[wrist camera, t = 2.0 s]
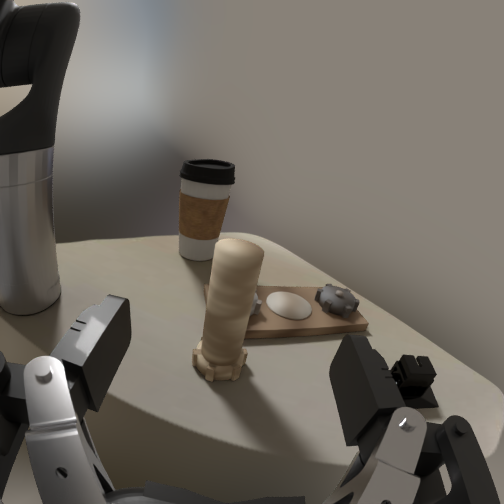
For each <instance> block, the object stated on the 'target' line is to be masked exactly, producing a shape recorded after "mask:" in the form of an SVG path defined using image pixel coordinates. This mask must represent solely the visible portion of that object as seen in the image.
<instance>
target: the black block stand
mask: <svg viewBox="0 0 504 504" xmlns="http://www.w3.org/2000/svg"><path fill="white" fill-rule="evenodd" d="M416 360H417V361H416ZM417 362H418V364H419V365H418V364H417ZM390 372H391V374H392V378H394V381H395V383H396V385H397V387H398V389H399V392H400V394H401V396H402V398H403V400H404V403H405V405H406V407H410V408H413V409H419V408H436V407H439V406H438V404H437V401H436V399H435V396H434V394H433V391H432V389H431V387H430V386H431V384H432V383H433V382H434V377H435V376H436V375H437V374H436V372H435V370H434V368H433V366H432V364H431V362H430V360H429V358H428V357H426V356H418V357H417V358H416V359H415V357H414V356H413V355H402V357H401V358H400V360H399V361H396V362H395V364H394V366H393V367H392V369H391V370H390Z"/></svg>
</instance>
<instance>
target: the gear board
mask: <svg viewBox="0 0 504 504" xmlns="http://www.w3.org/2000/svg"><path fill="white" fill-rule="evenodd" d="M208 291H209V284H204V297H205V302H206V306H207V298H208ZM358 305H359V300H358V299H355V297H354V296H353V295H352V294H351V293H350V290H348V289H347V288H346V289H343V288H340V287H337V286H332V284H326V286H325V287H280V286H257V287H256V291H255V295H254V299H253V304H252V308H251V312H250V316H249V320H248V325H247V329H246V333H245V337H244V339H251V338H279V337H297V336H312V335H325V334H336V333H346V332H356V331H365V330H366V328H367V326H368V324H369V323H368V322H367V321H366V319H365V318H364V317H363V316H362V315H361V314H360V313H359V311H358V310H357V307H358Z"/></svg>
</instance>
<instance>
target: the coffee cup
mask: <svg viewBox="0 0 504 504" xmlns="http://www.w3.org/2000/svg"><path fill="white" fill-rule="evenodd" d="M234 172H235V165H234V164H232V163H229V162H225V161H221V160H213V159H201V160H187V161H184V163H183V166H182V169H181V171H180V177H181V178H182V183H181V189H180V197H179V253H180V255H182V256H183V257H185V258H187V259H190V260H195V261H206V260H209V259H211V258H213V256H214V250H215V244H216V242H218V237H219V235H220V231H221V227H222V223H223V220H224V216H225V212H226V209H227V205H228V201H229V198H230V196H229V193H230V189H231V185H232V184H234V183H235V182H234V180H235V177H234Z"/></svg>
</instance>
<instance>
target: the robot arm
mask: <svg viewBox="0 0 504 504" xmlns="http://www.w3.org/2000/svg"><path fill="white" fill-rule="evenodd" d="M79 22H80V9H79V7H78V6H77V5H76V4H75V3H70V2H61V3H60V2H59V3H46V4H36V5H28V6H17V5H16V4H15V2H14V0H0V88H2V87H11V86H19V85H29V84H32V87H31V90H30V92H29V94H28V95H27V96H26V98H25V99H24V100H23V101H21V102H20V103H19V104H18V105H17V106H16V107H14V108H13V109H12V110H10V111H9V112H7V113H6V114H4V115H3V116H1V117H0V305H1V307H2V308H3V309H4V310H5V311H7V312H9V313H11V314H16V315H28V314H34V313H37V312H40V311H42V310H44V309H46V308H48V307H49V306H51V305H52V304H53V303H54V302H55V301H56V300H57V298H58V297H59V295H60V292H61V285H60V277H59V271H58V264H57V255H56V245H55V235H54V218H53V156H54V155H53V154H54V143H55V130H56V121H57V113H58V106H59V100H60V94H61V89H62V85H63V80H64V76H65V73H66V69H67V66H68V63H69V59H70V56H71V53H72V50H73V46H74V43H75V40H76V36H77V32H78V28H79ZM130 341H131V319H130V303H129V300H128V299H126V298H122V297H118V296H114V295H110V294H109V295H107V296H106V298H105V299H104V300H103V302H102V303H101V304H100V306H98V305H95V304H94V305H92V306H91V307H89V308H87V309H86V310H84V311H83V312H82V313H81V314H80V316H79V317H78V318H77V319H76V322H74V323H73V325H72V326H71V328H70V329H69V330H68V331H67V332H66V334H65V335H64V336H63V338H62V339H61V340H60V342H59V343H58V344H57V346H56V347H55V348H54V350H53V351H52V353H51V354H50V355H49V356H40V357H36V358H34V359H33V360H31V361H30V362H29V363H28V364H27V365H21V364H15V363H9V362H6V360H5V357H4V355H3V353H2V352H1V351H0V504H3V502H2V500H1V499H2V496H3V492H4V489H5V486H6V483H7V480H8V477H9V474H10V472H11V469H12V466H13V464H14V461H15V459H16V456H17V454H18V451H19V449H20V446H21V444H22V441H23V439H24V437H25V438H26V445H27V449H28V454H29V458H30V462H31V466H32V470H33V474H34V477H35V481H36V484H37V487H38V490H39V494H40V496H41V499H42V502H43V504H305V497H304V496H301V497H265V498H260V499H254V500H248V501H242V502H234V503H223V502H220V501H216V500H214V499H211V498H208V497H205V496H202V495H199V494H197V493H194V492H191V491H189V490H186V489H183V488H178V487H172V486H168V485H164V484H159V483H155V482H151V481H146V484H145V487H132V488H123V489H119V490H115V489H114V487H113V485H112V483H111V481H110V479H109V477H108V475H107V473H106V471H105V470H104V468H103V466H102V464H101V461H100V459H99V456H98V454H97V452H96V449H95V447H94V444H93V441H92V438H91V436H90V433H89V430H88V427H87V424H86V421H85V418H84V415H85V413H86V411H87V409H90V410H93V411H96V412H98V411H99V408H100V406H101V404H102V402H103V399H104V397H105V395H106V393H107V391H108V389H109V386H110V384H111V382H112V380H113V378H114V376H115V374H116V372H117V370H118V367H119V365H120V363H121V361H122V359H123V357H124V355H125V353H126V351H127V349H128V347H129V344H130ZM388 369H389V368H388V366H387V364H386V362H385V360H384V358H383V357H382V356H381V355H380V354H379V353H378V352H377V351H376V350H375V349H372V347H371V345H370V343H369V341H368V339H367V337H366V336H360V335H345V336H344V338H343V340H342V342H341V344H340V346H339V348H338V350H337V353H336V355H335V357H334V359H333V361H332V363H331V366H330V371H329V376H330V381H331V385H332V389H333V393H334V397H335V400H336V404H337V408H338V412H339V417H340V421H341V425H342V429H343V433H344V437H345V442H346V446H357V445H358V447H359V451H358V452H357V453H356V455H355V457H354V458H353V460H352V462H351V464H350V465H349V467H348V469H347V470H346V472H345V474H344V475H343V477H342V479H341V480H340V482H339V483H338V485H337V487H336V488H335V490H334V491H333V492H332V493H331V495H330V496H329V497H328V498H327V499H326V500H325V501H324V502H323V503H322V504H500V501H499V498H498V494H497V491H496V488H495V485H494V482H493V480H492V477H491V474H490V471H489V469H488V466H487V463H486V461H485V458H484V456H483V453H482V451H481V448H480V446H479V444H478V441H477V439H476V437H475V434H474V432H473V430H472V428H471V426H470V424H469V423H468V422H467V420H465V419H464V418H462V417H460V416H457V415H453V416H450V417H449V418H447V420H446V421H445V422H444V423H443V424H436V423H429V422H426V421H425V419H424V417H423V416H422V414H421V413H420V412H418V411H417V410H415V409H413V408H410V407H406V405H405V403H404V400H403V398H402V396H401V394H400V392H399V389H398V387H397V385H396V383H395V381H394V378H392V374H391V372H390V370H388ZM29 426H30V430H28V428H29ZM444 464H446V467H447V471H448V474H449V477H450V480H451V484H452V488H451V491H450V493H449V494H448V495H446V491H445V488H444V485H443V481H442V478H441V474H440V471H439V468H440V467H441V466H442V465H444Z"/></svg>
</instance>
